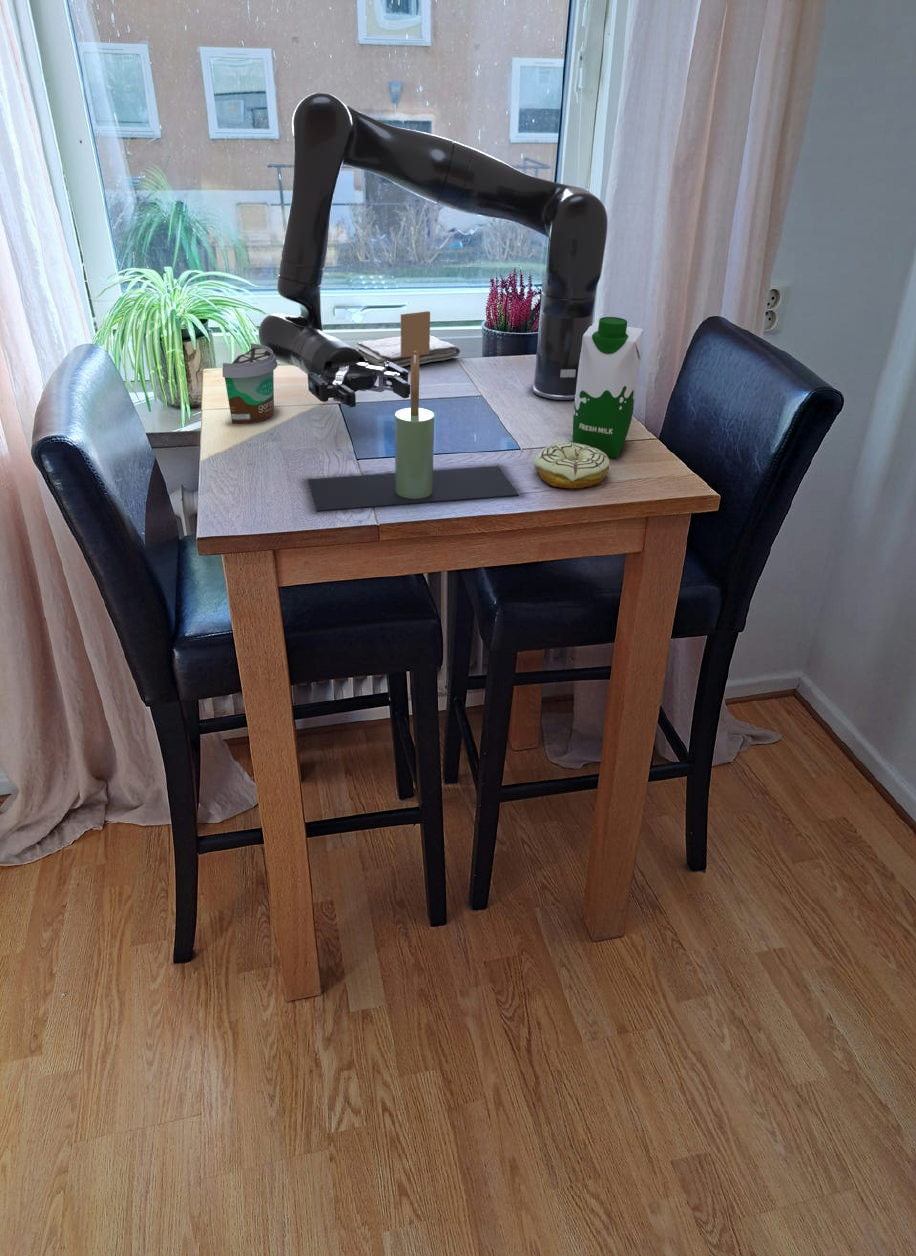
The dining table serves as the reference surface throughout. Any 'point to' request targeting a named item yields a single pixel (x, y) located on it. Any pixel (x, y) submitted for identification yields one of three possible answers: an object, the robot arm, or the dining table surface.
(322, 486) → the mat
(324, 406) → the dining table surface
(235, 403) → the food container
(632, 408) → the milk carton
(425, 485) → the spatula crock
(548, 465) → the decorated donut
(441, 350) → the washcloth
